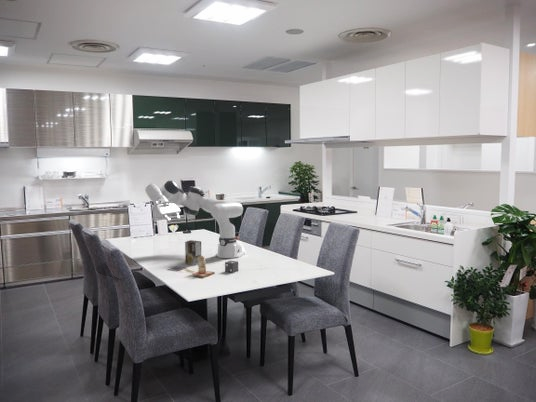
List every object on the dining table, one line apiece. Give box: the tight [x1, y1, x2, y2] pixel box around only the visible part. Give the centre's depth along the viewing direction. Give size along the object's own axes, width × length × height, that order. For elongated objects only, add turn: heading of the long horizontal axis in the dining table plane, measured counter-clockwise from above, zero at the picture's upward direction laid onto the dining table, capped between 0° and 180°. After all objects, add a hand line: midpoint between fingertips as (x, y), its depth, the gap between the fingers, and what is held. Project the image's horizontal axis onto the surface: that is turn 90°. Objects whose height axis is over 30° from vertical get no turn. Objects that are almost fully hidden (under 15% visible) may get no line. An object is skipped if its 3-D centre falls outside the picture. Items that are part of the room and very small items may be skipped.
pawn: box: [197, 255, 207, 274], centre depth 277 cm, size 4×4×11 cm
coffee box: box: [184, 239, 202, 266], centre depth 301 cm, size 9×6×16 cm
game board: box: [166, 265, 215, 279], centre depth 282 cm, size 12×30×1 cm, turn 61°
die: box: [224, 260, 239, 274], centre depth 286 cm, size 6×6×6 cm
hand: (174, 219), depth 292 cm, fingers open, 8 cm apart
